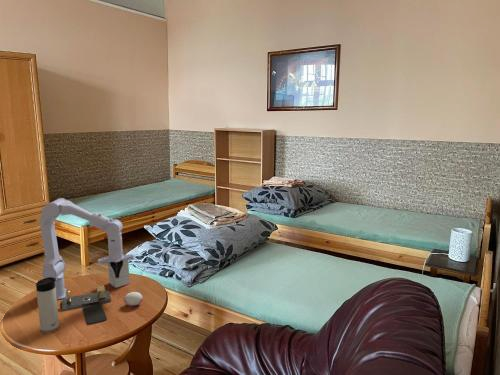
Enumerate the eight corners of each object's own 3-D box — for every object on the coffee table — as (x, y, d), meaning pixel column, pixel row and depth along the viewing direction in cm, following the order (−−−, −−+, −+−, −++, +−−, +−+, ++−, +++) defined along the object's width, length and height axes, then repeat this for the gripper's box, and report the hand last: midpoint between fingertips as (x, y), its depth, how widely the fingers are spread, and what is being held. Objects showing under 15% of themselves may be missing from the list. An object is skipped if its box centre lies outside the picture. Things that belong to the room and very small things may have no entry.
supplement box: (123, 278, 188) (122, 254, 185) (130, 283, 182) (128, 259, 180) (108, 283, 183) (107, 258, 180) (115, 288, 177) (113, 263, 175)
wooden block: (97, 293, 168) (96, 286, 168) (104, 292, 170) (104, 285, 169) (98, 298, 164) (97, 291, 163) (105, 297, 165) (105, 290, 165)
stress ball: (142, 308, 166) (143, 293, 168) (142, 306, 159) (142, 290, 161) (124, 310, 164) (125, 294, 167) (123, 307, 157) (123, 291, 159)
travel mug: (58, 331, 142) (53, 282, 138) (38, 334, 140) (33, 284, 136) (61, 323, 148) (57, 275, 144) (42, 325, 146) (37, 277, 142)
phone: (100, 303, 163) (107, 319, 150) (100, 304, 163) (107, 321, 150) (81, 307, 159) (87, 324, 147) (82, 309, 159) (87, 326, 147)
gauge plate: (62, 301, 165) (61, 287, 164) (108, 292, 173) (108, 279, 172) (62, 310, 157) (61, 296, 156) (111, 301, 165) (110, 287, 164)
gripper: (98, 253, 159) (100, 283, 162) (134, 248, 165) (135, 277, 168) (97, 248, 165) (99, 277, 168) (131, 243, 171) (133, 271, 174)
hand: (117, 277), depth 168 cm, fingers closed
